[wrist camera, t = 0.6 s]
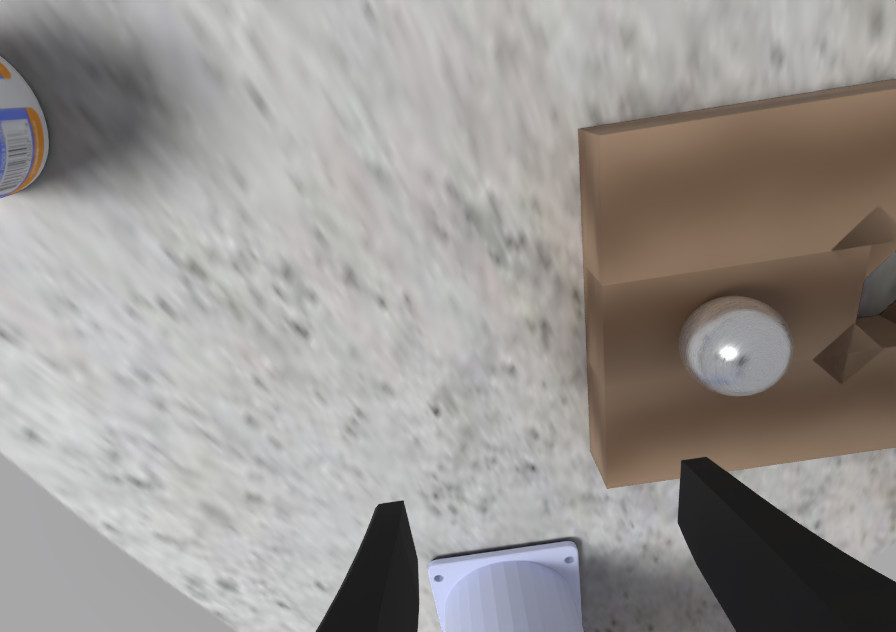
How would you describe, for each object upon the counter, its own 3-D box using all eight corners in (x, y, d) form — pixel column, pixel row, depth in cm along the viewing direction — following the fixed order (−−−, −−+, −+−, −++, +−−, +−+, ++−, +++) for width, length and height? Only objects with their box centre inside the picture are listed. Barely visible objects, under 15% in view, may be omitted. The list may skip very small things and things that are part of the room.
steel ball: (749, 357, 20) (810, 408, 17) (661, 370, 20) (705, 423, 17) (759, 274, 19) (827, 314, 16) (663, 289, 19) (712, 331, 16)
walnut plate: (952, 399, 25) (1006, 431, 22) (590, 452, 25) (607, 488, 23) (1061, 52, 18) (1151, 48, 16) (578, 129, 19) (599, 135, 17)
